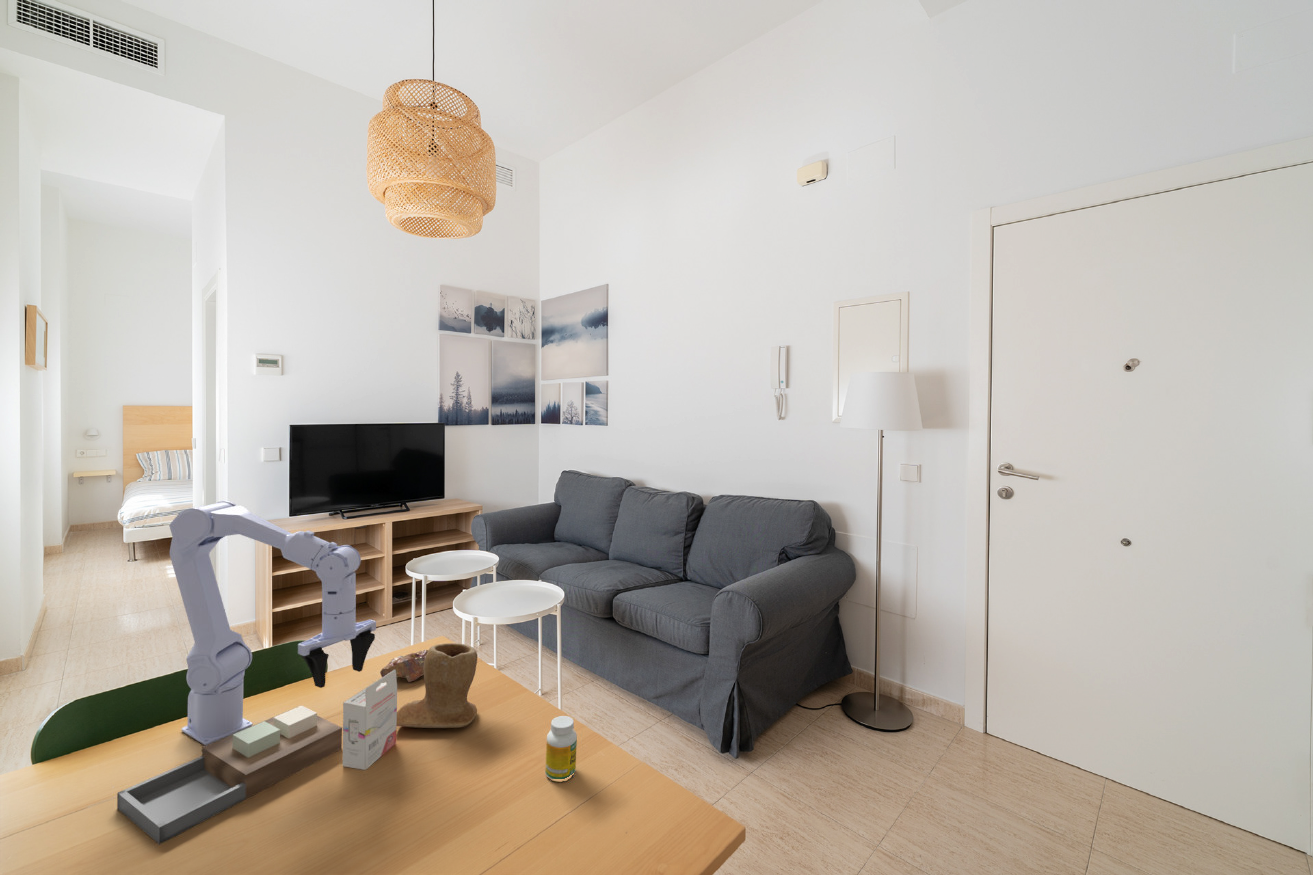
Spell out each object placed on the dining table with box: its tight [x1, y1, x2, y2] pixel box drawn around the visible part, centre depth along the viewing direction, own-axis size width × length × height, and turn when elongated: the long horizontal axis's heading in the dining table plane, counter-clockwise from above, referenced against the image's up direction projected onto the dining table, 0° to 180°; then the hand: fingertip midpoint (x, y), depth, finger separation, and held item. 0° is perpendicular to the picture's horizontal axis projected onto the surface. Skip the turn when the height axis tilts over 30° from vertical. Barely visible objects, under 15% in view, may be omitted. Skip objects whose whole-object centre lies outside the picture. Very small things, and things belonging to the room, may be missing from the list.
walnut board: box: [201, 705, 343, 800], centre depth 99 cm, size 14×16×4 cm
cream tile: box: [273, 705, 318, 739], centre depth 102 cm, size 5×5×2 cm
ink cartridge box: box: [342, 670, 398, 771], centre depth 101 cm, size 9×5×15 cm, turn 168°
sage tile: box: [233, 720, 280, 757], centre depth 96 cm, size 5×5×2 cm
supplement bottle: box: [545, 715, 578, 779], centre depth 99 cm, size 5×5×10 cm
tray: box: [116, 755, 246, 845], centre depth 87 cm, size 14×11×2 cm
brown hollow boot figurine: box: [396, 642, 478, 729], centre depth 114 cm, size 15×12×15 cm
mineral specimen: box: [379, 649, 429, 683], centre depth 132 cm, size 12×8×7 cm, turn 165°
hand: (339, 677), depth 109 cm, fingers open, 7 cm apart
